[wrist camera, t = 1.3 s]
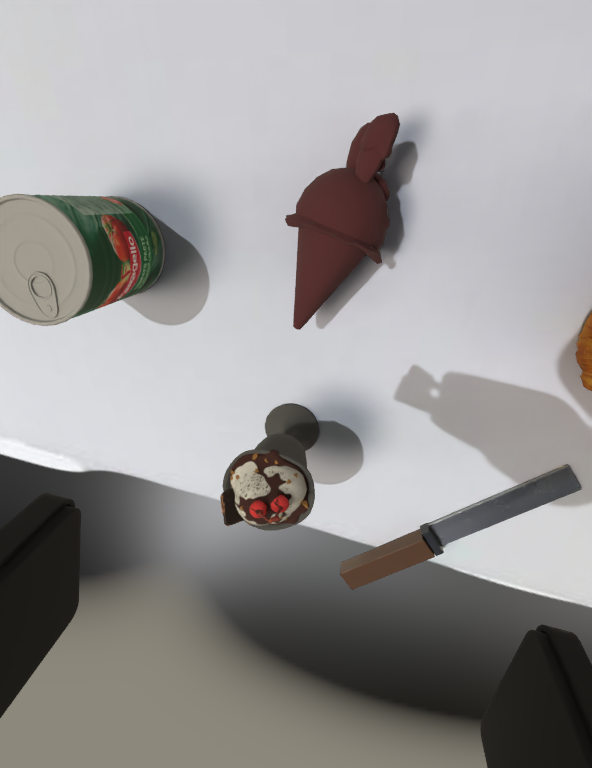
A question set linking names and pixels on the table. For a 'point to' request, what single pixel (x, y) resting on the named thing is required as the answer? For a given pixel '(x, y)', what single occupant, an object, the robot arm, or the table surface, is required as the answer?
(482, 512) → the knife
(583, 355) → the croissant
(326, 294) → the icecream
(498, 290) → the table surface
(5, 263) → the canned tomato
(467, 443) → the table surface
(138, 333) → the table surface
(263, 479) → the sundae
